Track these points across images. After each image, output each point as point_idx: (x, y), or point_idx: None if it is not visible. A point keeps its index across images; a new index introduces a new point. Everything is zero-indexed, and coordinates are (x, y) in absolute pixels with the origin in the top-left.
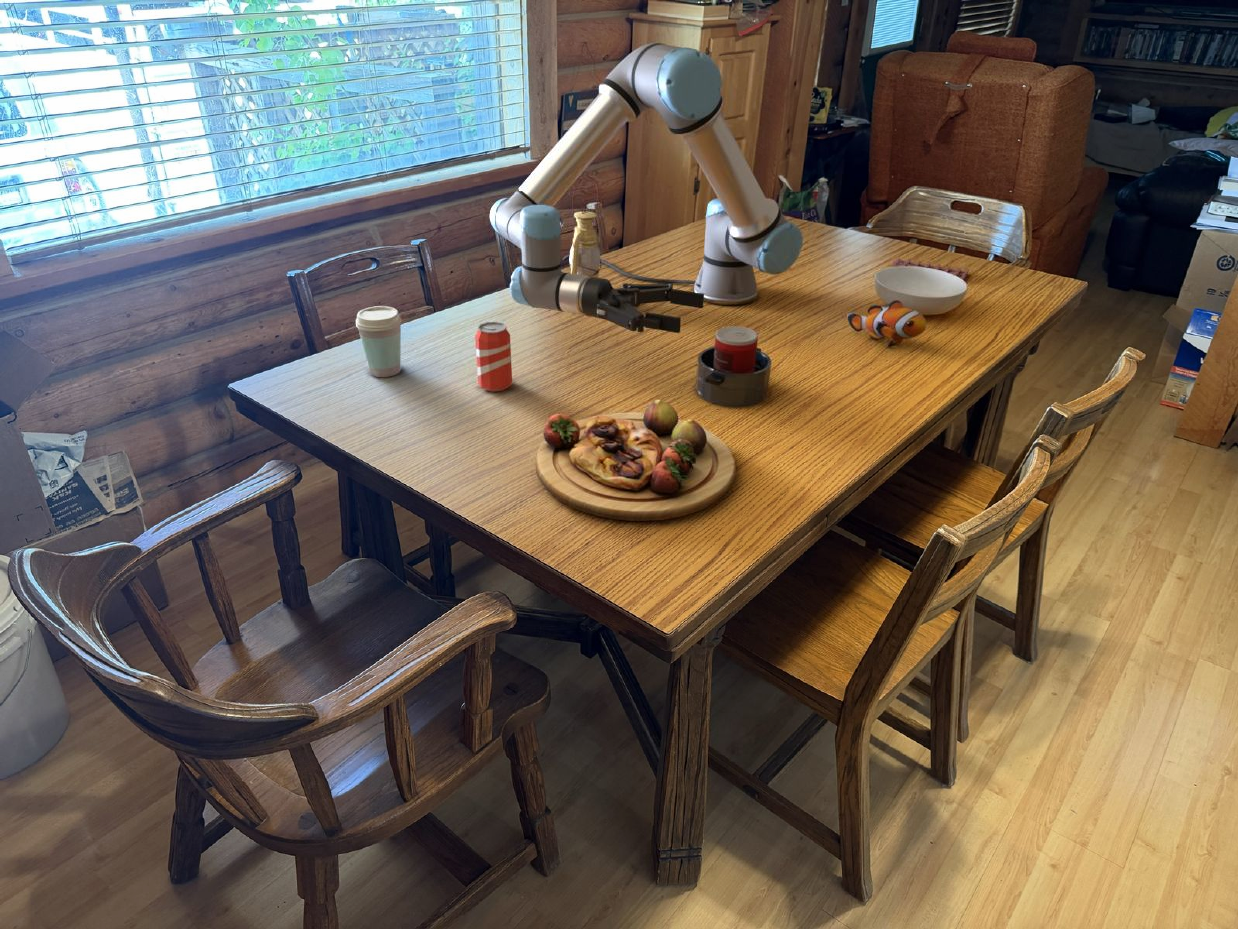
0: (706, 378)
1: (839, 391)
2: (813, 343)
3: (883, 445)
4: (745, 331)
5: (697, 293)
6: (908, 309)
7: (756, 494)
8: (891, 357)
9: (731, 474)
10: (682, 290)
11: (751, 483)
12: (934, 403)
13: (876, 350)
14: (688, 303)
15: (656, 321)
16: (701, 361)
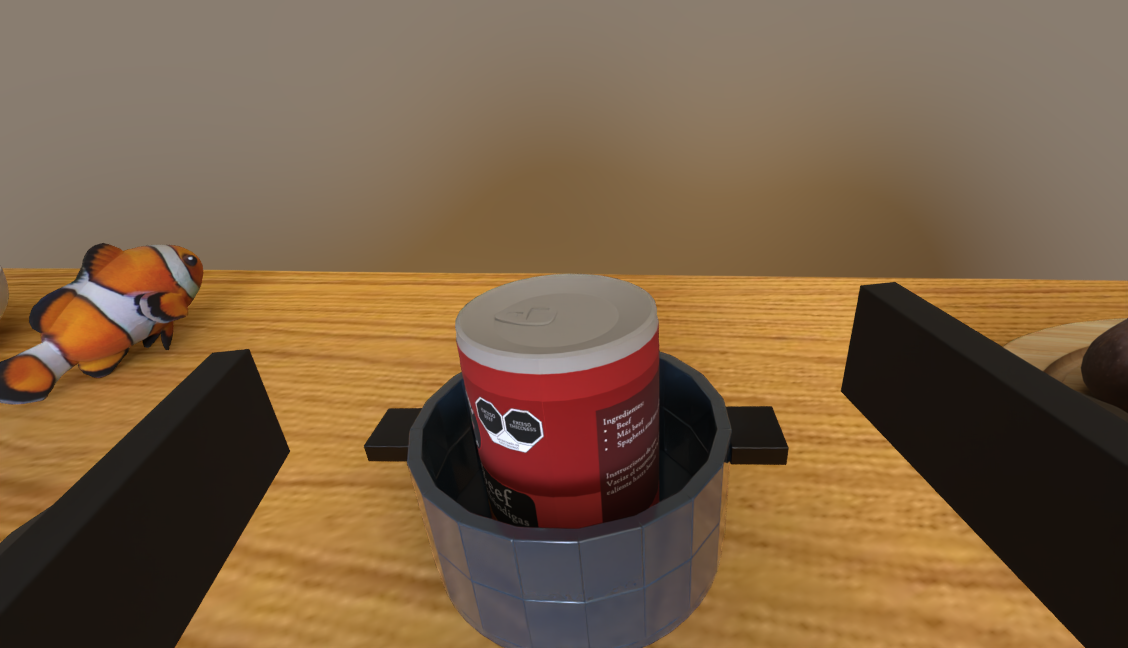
0: (787, 445)
1: (450, 351)
2: (98, 460)
3: (645, 278)
4: (493, 312)
5: (200, 383)
6: (137, 247)
7: (1014, 324)
8: (231, 338)
9: (1073, 323)
10: (44, 516)
11: (993, 338)
12: (448, 276)
13: (183, 360)
14: (220, 529)
15: (1117, 413)
16: (679, 494)
